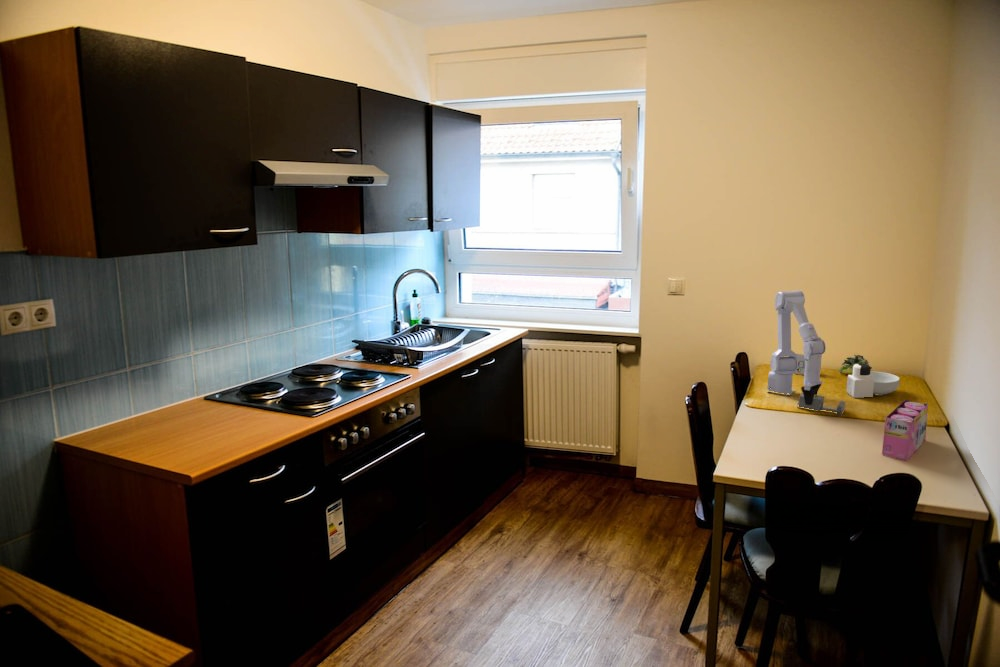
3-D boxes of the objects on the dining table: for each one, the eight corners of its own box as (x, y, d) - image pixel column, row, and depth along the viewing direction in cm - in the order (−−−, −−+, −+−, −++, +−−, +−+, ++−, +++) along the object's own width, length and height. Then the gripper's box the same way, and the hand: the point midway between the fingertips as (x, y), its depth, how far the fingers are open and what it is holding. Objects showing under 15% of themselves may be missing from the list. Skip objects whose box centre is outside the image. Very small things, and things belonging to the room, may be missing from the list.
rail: (795, 409, 284) (796, 399, 283) (800, 404, 289) (800, 394, 288) (840, 416, 274) (841, 406, 273) (844, 411, 280) (845, 401, 279)
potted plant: (856, 384, 328) (875, 364, 324) (856, 386, 318) (875, 366, 315) (835, 368, 332) (853, 348, 328) (834, 370, 322) (853, 350, 318)
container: (865, 392, 300) (867, 362, 297) (873, 397, 293) (875, 367, 290) (846, 392, 301) (848, 362, 298) (853, 398, 293) (856, 367, 290)
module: (798, 408, 284) (799, 394, 282) (801, 404, 288) (802, 391, 286) (819, 411, 279) (821, 398, 278) (822, 408, 283) (824, 394, 282)
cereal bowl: (874, 384, 310) (876, 368, 308) (907, 395, 295) (909, 379, 293) (844, 389, 305) (845, 373, 303) (875, 401, 289) (877, 384, 288)
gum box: (901, 434, 255) (905, 398, 252) (926, 439, 250) (930, 402, 247) (881, 455, 239) (884, 416, 235) (907, 461, 233) (911, 422, 230)
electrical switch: (792, 373, 329) (794, 354, 327) (795, 372, 333) (797, 352, 331) (813, 377, 323) (815, 356, 322) (816, 375, 327) (818, 355, 326)
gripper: (819, 376, 272) (816, 409, 275) (827, 366, 283) (825, 399, 287) (799, 373, 276) (797, 406, 279) (808, 364, 287) (806, 396, 291)
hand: (810, 402), depth 283 cm, fingers closed on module, 5 cm apart
